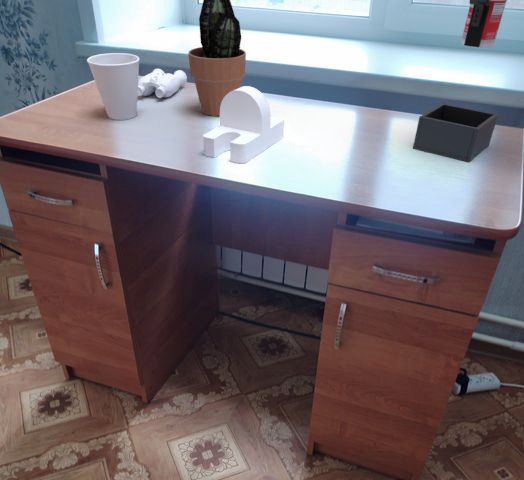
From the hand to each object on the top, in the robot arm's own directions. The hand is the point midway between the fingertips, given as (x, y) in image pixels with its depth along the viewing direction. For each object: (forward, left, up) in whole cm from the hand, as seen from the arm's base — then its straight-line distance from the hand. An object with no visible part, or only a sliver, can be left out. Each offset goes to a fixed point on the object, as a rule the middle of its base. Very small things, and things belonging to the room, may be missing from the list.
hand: (477, 43), depth 98 cm
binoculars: (+79, +11, -20) cm, 82 cm away
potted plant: (+56, +13, -20) cm, 61 cm away
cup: (+72, +31, -20) cm, 81 cm away
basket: (0, 0, -20) cm, 20 cm away
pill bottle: (0, 0, -1) cm, 1 cm away
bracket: (+36, +28, -20) cm, 50 cm away
